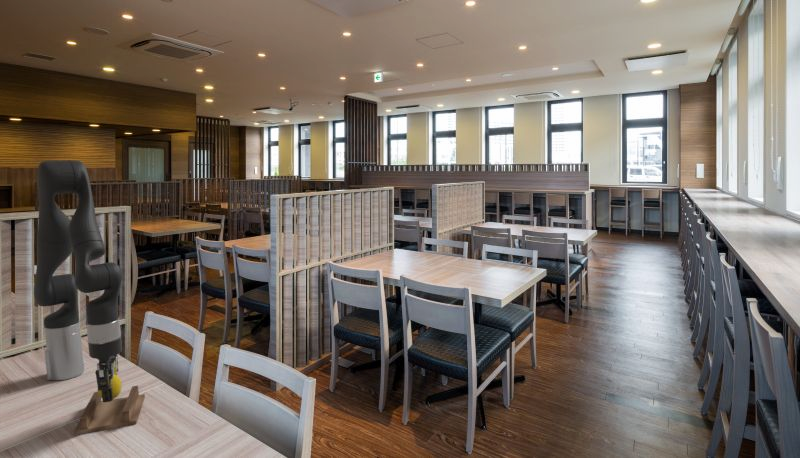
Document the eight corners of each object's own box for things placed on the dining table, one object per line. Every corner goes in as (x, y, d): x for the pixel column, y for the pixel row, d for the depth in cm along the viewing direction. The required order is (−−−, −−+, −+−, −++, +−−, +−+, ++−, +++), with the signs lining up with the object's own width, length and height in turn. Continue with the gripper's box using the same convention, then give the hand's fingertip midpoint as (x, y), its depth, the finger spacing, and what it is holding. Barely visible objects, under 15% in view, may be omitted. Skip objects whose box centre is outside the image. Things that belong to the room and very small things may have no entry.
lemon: (108, 395, 129) (106, 368, 127) (127, 396, 128) (124, 369, 127) (93, 405, 123) (91, 377, 122) (113, 406, 123) (110, 378, 121)
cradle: (74, 435, 117) (72, 420, 116) (89, 406, 131) (88, 393, 130) (136, 423, 122) (135, 409, 121) (144, 397, 136) (143, 384, 135)
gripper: (95, 330, 128) (100, 386, 131) (80, 348, 115) (87, 411, 117) (125, 326, 131) (130, 382, 133) (115, 344, 118) (120, 406, 120)
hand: (110, 395), depth 125 cm, fingers closed on lemon, 5 cm apart
